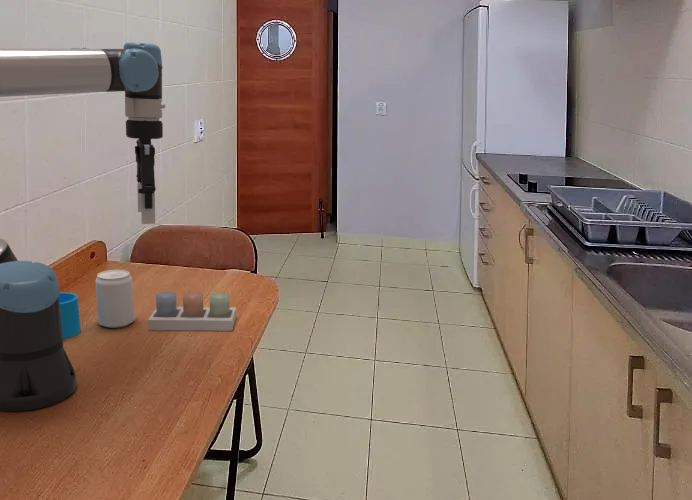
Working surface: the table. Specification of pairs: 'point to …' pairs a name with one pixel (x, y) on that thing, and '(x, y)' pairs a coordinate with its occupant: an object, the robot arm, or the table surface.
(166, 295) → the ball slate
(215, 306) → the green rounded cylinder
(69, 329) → the mug
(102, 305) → the beverage can
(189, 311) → the button terracotta
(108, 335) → the table surface
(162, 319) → the three-ball tray
